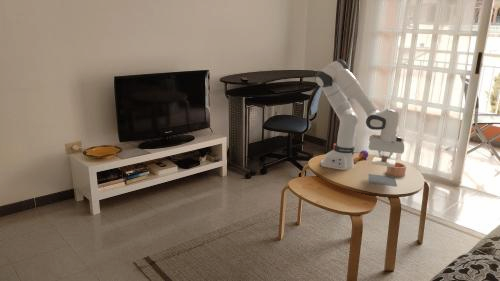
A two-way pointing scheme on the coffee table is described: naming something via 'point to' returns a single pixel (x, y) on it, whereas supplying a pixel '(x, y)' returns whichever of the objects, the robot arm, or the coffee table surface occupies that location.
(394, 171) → the bowl
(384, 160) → the lid
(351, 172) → the coffee table surface
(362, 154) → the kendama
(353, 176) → the coffee table surface
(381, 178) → the mat
